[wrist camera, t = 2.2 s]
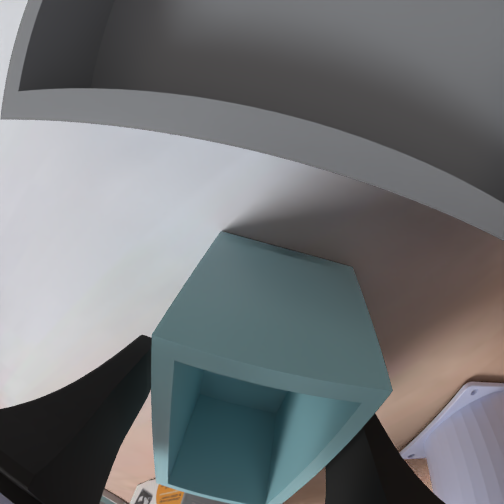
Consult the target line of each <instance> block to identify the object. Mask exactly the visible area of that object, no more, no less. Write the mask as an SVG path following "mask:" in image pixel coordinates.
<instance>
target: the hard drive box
mask: <svg viewBox="0 0 504 504" xmlns="http://www.w3.org/2000/svg"><path fill="white" fill-rule="evenodd" d="M130 504H230V503H225V502H220V501H216V500H212V499H208V498H204V497H200V496H196V495H192V494H189V493H185V492H182V491H179V490H175V489H172V488H169V487H166V486H163V485H160V484H157V483H156V479H153V480H149V481H146V482H144V483H142V484H139V485H137V487H136V490H135V492H134V494H133V497H132V499H131V502H130Z"/></svg>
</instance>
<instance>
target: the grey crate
mask: <svg viewBox="0 0 504 504" xmlns="http://www.w3.org/2000/svg"><path fill="white" fill-rule="evenodd" d="M1 119H17V120H50V121H67V122H80V123H91V124H101V125H111V126H119V127H127V128H135V129H142V130H149V131H156V132H162V133H168V134H174V135H180V136H186V137H191V138H196V139H202V140H207V141H212V142H217V143H221V144H226V145H231V146H235V147H240V148H244V149H248V150H252V151H257V152H261V153H265V154H269V155H273V156H277V157H280V158H284V159H288V160H292V161H295V162H299V163H302V164H306V165H309V166H313V167H316V168H320V169H323V170H326V171H330V172H333V173H336V174H339V175H342V176H346V177H349V178H352V179H355V180H358V181H361V182H364V183H367V184H370V185H372V186H375V187H378V188H381V189H384V190H387V191H389V192H392V193H395V194H397V195H400V196H403V197H405V198H408V199H411V200H413V201H416V202H418V203H421V204H423V205H426V206H428V207H431V208H433V209H435V210H438V211H440V212H443V213H445V214H447V215H450V216H452V217H454V218H456V219H459V220H461V221H463V222H465V223H468V224H470V225H472V226H474V227H476V228H478V229H480V230H483V231H485V232H487V233H489V234H491V235H493V236H495V237H497V238H499V239H501V240H503V241H504V0H28V3H27V5H26V8H25V11H24V14H23V17H22V20H21V23H20V26H19V29H18V33H17V36H16V40H15V43H14V47H13V51H12V55H11V59H10V64H9V68H8V73H7V78H6V84H5V90H4V96H3V103H2V110H1Z"/></svg>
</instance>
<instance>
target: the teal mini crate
mask: <svg viewBox="0 0 504 504" xmlns="http://www.w3.org/2000/svg"><path fill="white" fill-rule="evenodd" d="M392 391H393V390H392V386H391V383H390V379H389V376H388V372H387V369H386V365H385V362H384V358H383V355H382V352H381V349H380V345H379V342H378V339H377V336H376V333H375V330H374V327H373V323H372V320H371V317H370V315H369V312H368V309H367V306H366V303H365V300H364V297H363V294H362V292H361V289H360V286H359V283H358V281H357V278H356V275H355V272H354V270H353V267H351V266H347V265H344V264H340V263H336V262H333V261H329V260H325V259H322V258H318V257H315V256H311V255H307V254H304V253H300V252H296V251H293V250H289V249H285V248H282V247H278V246H274V245H271V244H267V243H263V242H259V241H256V240H252V239H248V238H245V237H241V236H237V235H233V234H230V233H226V232H222V231H221V232H220V233H219V235H218V236H217V238H216V239H215V240H214V242H213V243H212V245H211V246H210V248H209V249H208V251H207V252H206V254H205V255H204V256H203V258H202V259H201V261H200V262H199V264H198V265H197V267H196V268H195V270H194V271H193V273H192V274H191V276H190V277H189V279H188V280H187V282H186V283H185V285H184V286H183V288H182V289H181V291H180V292H179V294H178V295H177V297H176V298H175V300H174V301H173V303H172V304H171V306H170V307H169V309H168V310H167V312H166V314H165V315H164V317H163V318H162V320H161V321H160V323H159V324H158V326H157V327H156V329H155V331H154V332H153V334H152V348H151V405H152V432H153V450H154V463H155V475H156V483H157V484H160V485H163V486H166V487H169V488H172V489H175V490H179V491H182V492H185V493H189V494H192V495H196V496H200V497H204V498H208V499H212V500H216V501H220V502H225V503H230V504H282V503H283V502H285V501H286V500H287V499H288V498H290V497H291V496H292V495H293V494H294V493H296V492H297V491H298V490H299V489H300V488H302V487H303V486H304V485H305V484H306V483H307V482H308V481H310V480H311V479H312V478H313V477H314V476H315V475H316V474H317V473H318V472H319V471H321V470H322V469H323V468H324V467H325V466H326V465H327V464H328V463H329V462H330V461H331V460H332V459H333V458H334V457H335V456H336V455H337V454H338V453H339V452H340V451H341V450H342V449H343V448H344V447H345V446H346V445H347V444H348V443H349V442H350V441H351V440H352V438H353V437H354V436H355V435H356V434H357V433H358V432H359V431H360V430H361V429H362V427H363V426H364V425H365V424H366V423H367V422H368V421H369V419H370V418H371V417H372V416H373V415H374V414H375V412H376V411H377V410H378V409H379V407H380V406H381V405H382V404H383V403H384V401H385V400H386V399H387V398H388V396H389V395H390V394H391V392H392Z"/></svg>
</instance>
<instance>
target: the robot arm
mask: <svg viewBox="0 0 504 504" xmlns="http://www.w3.org/2000/svg"><path fill="white" fill-rule="evenodd" d="M151 348H152V338H150V337H148V336H145V335H141V336H139V337H138V338H137V339H135V340H134V341H133V342H132V343H130V344H129V345H128V346H127V347H125V348H124V349H123V350H121V351H120V352H119V353H117V354H116V355H115V356H113V357H112V358H111V359H109V360H108V361H106V362H105V363H104V364H102V365H101V366H99V367H98V368H96V369H95V370H93V371H92V372H90V373H88V374H87V375H85V376H84V377H82V378H80V379H79V380H77V381H75V382H73V383H71V384H69V385H68V386H66V387H64V388H61V389H59V390H57V391H55V392H53V393H50V394H48V395H46V396H43V397H41V398H38V399H35V400H33V401H29V402H26V403H23V404H19V405H16V406H12V407H8V408H3V409H0V504H100V500H101V497H102V494H103V491H104V488H105V485H106V482H107V479H108V476H109V474H110V471H111V468H112V466H113V463H114V461H115V458H116V455H117V453H118V451H119V448H120V446H121V444H122V442H123V440H124V438H125V436H126V434H127V433H128V431H129V429H130V427H131V426H132V424H133V422H134V420H135V418H136V417H137V415H138V413H139V411H140V410H141V408H142V406H143V404H144V402H145V401H146V399H147V397H148V395H149V392H150V390H151ZM418 458H426V460H427V464H428V469H429V474H430V478H431V483H432V488H433V492H432V491H431V490H430V489H429V488H428V487H427V486H426V485H425V484H424V483H423V482H422V481H421V480H420V479H419V478H418V477H417V476H416V474H415V473H414V472H413V471H412V469H411V468H410V467H409V466H408V464H407V463H406V462H405V461H404V459H418ZM325 504H504V383H488V382H468V383H466V384H465V385H464V386H463V387H462V388H461V389H460V390H459V391H458V393H457V394H456V395H455V396H454V397H453V399H452V400H451V401H450V402H449V403H448V404H447V405H446V407H445V408H444V409H443V410H442V411H441V412H440V413H439V414H438V415H437V416H436V417H435V418H434V420H433V421H432V422H431V423H430V424H429V425H428V426H427V427H426V428H425V429H424V430H423V431H422V432H421V433H420V434H419V435H418V436H417V437H416V438H415V439H414V440H412V441H411V442H410V443H409V444H408V445H407V446H406V447H405V448H404V449H403V450H402V451H400V453H399V452H398V450H397V449H396V447H395V446H394V444H393V443H392V441H391V440H390V438H389V437H388V435H387V433H386V432H385V430H384V428H383V426H382V425H381V423H380V421H379V419H378V418H377V416H376V414H374V415H373V416H372V417H371V418H370V419H369V421H368V422H367V423H366V424H365V425H364V426H363V427H362V429H361V430H360V431H359V432H358V433H357V434H356V435H355V436H354V437H353V438H352V440H351V441H350V442H349V443H348V444H347V445H346V446H345V447H344V448H343V449H342V450H341V451H340V452H339V453H338V454H337V455H336V456H335V457H334V458H333V459H332V460H331V461H330V462H329V463H328V464H327V465H326V499H325Z"/></svg>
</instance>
